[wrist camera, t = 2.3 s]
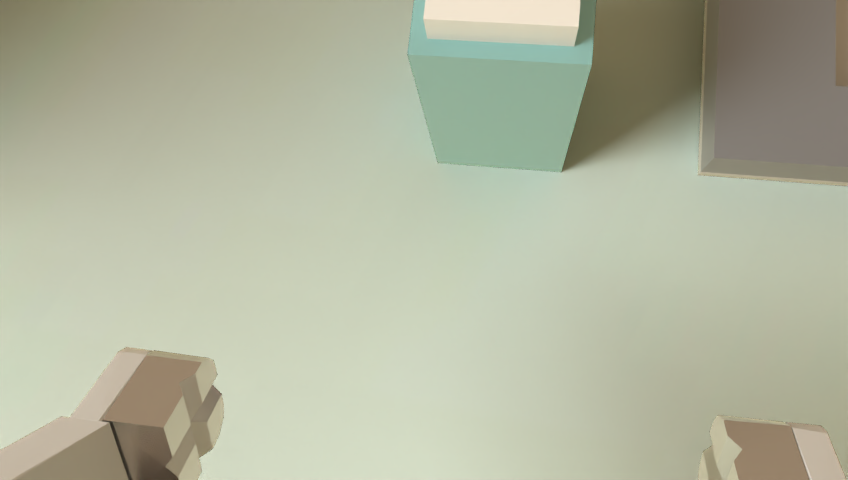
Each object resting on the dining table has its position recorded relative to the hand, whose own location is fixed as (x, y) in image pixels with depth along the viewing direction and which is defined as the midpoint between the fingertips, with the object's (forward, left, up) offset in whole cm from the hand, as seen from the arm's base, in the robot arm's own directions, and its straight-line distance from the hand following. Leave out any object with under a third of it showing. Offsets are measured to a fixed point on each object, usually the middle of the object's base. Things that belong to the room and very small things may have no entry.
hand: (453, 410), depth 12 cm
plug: (0, +10, -13) cm, 17 cm away
